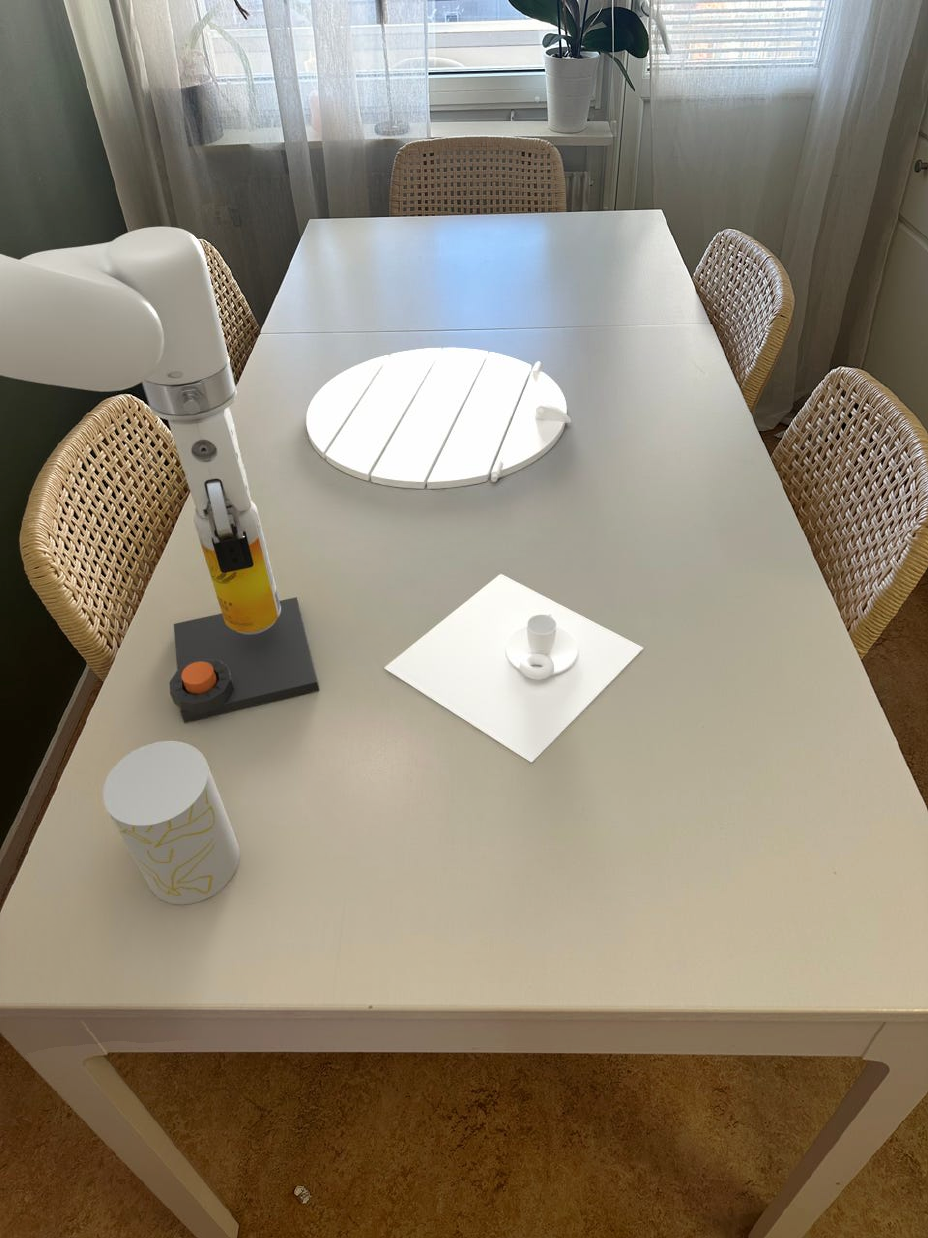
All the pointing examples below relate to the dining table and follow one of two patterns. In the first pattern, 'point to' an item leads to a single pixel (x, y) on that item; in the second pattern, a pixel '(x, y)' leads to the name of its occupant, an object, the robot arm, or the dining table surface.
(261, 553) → the beer can
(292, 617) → the scale
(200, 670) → the power button
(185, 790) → the cup
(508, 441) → the lazy susan
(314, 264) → the dining table surface
